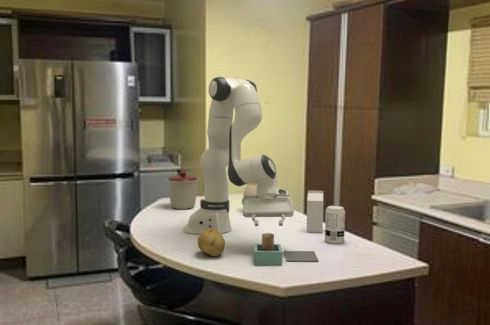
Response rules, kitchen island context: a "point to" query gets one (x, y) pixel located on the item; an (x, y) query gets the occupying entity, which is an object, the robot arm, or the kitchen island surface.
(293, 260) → the mat
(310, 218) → the milk carton
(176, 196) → the canister
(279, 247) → the tub
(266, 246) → the walnut peg
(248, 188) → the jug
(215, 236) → the potato
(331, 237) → the supplement can
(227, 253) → the kitchen island surface
